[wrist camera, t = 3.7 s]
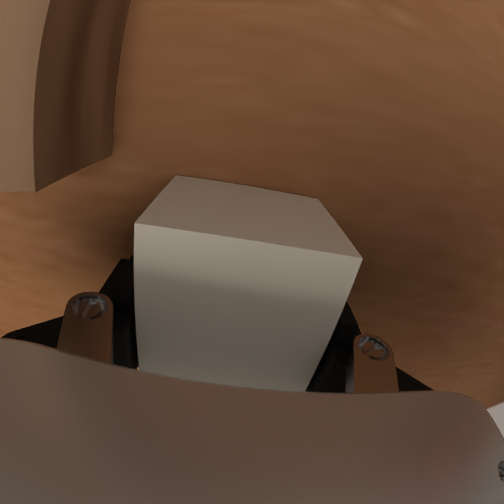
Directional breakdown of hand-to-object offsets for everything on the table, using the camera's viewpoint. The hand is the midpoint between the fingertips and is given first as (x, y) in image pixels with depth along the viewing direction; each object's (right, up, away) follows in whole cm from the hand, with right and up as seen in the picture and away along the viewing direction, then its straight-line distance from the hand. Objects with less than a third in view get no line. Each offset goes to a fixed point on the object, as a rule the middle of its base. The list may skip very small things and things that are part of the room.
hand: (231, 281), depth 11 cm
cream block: (0, 0, 0) cm, 1 cm away
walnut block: (-8, +10, -4) cm, 13 cm away
